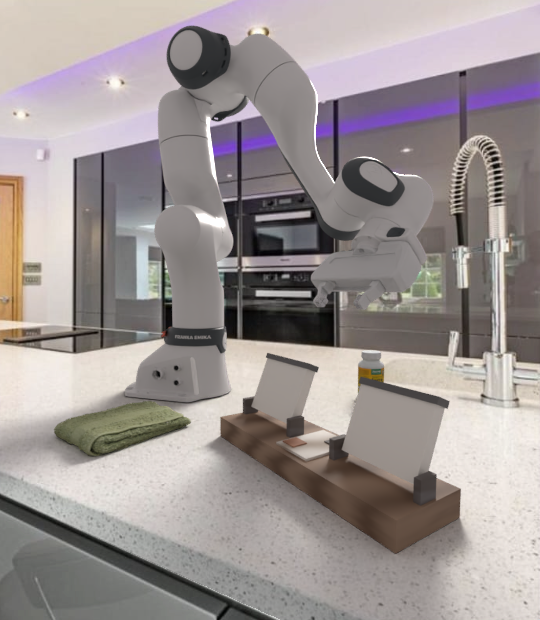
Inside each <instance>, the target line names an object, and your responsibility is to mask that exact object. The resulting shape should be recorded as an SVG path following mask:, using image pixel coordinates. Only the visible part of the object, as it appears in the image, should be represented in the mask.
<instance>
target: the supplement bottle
mask: <svg viewBox="0 0 540 620" xmlns="http://www.w3.org/2000/svg"><path fill="white" fill-rule="evenodd" d="M360 357H361V360H359V362H358V364H357V393H358V392H359V389H360V385H361V384H360V383H359V380H360V377H364V378H368V379H372V380H376V381H380V382H384V383H385V364H384V363H383V361H381V358H382V352H381V351H379V350H375V349H374V350H372V349H369V350H362V351H361V355H360Z"/></svg>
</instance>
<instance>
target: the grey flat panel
mask: <svg viewBox="0 0 540 620" xmlns="http://www.w3.org/2000/svg"><path fill="white" fill-rule="evenodd" d="M359 383H360V384H361V385H360V389H359V392H358V391H357V397H356V399H355V402H354V407H353V410H352V414H351V416H350V421H349V423H348V427H347V430H346V432H345V433H346V434H345V435H346V436H345V440H344V443H343V447H342V450H343V451H345V452H347V453H349V454H351V455H353V456H355V457H357V458H360V459H362V460H364V461H366V462H368V463H370V464H372V465H374V466H376V467H378V468H380V469H382V470H385V471H387V472H389V473H391V474H393V475H395V476H397V477H399V478H401V479H403V480H405V481H408V482H410V483H412V484H414V477H416V476H418V475H421V474H423V473H425V472H428V471H430V467H431V463H432V460H433V457H434V452H435V448H436V443H437V440H438V437H439V434H440V433H439V431H440V430H441V424H442V420H443V417H444V413H445V410H447V409H448V408H449V405H450V400H449V399H446V398H444V397H441V396H438V395H434V394H431V393H426V392H423V391H418V390H415V389H412V388H411V389H410V388H407V387H403V386H398V385H394V384H391V383H388V382H387V383H386V382H385V381H384V382H380V381H376V380H372V379H368V378H364V377H360V380H359Z"/></svg>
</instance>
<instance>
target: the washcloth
mask: <svg viewBox="0 0 540 620" xmlns="http://www.w3.org/2000/svg"><path fill="white" fill-rule="evenodd" d="M191 423H192V421H191V419H190V418H189V417H187V416H185V415H184V414H183V413H180V412H178V411H175V410H173V409H172V408H171V407H170V406H168V405H159V404H158V403H157V402H156V401H152V400H147V401H146V400H143V401H139V402H131V403H126V404H122V405H119V406H117V407H111V408H107V409H106V410H101V411H97V412H91V413H84V414H82V415H78V416H72V417H70V418H67V419H65V420H63V421H61V422H59V423H57V425H56V426H55V427H53V428H54V429H53V431H54V432H53V433H54V435H55V436H56V437H57V438H60V439H61V440H64V441H65V442H67V443H68V444H69V445H72V444H73V445H74V446H76V447H78V450H80V451H83V453H85V454H87V456H90V457H99V456H103V455H105V454H108V453H111V452H115V451H119V450H122V449H123V450H124V449H125V448H129V447H130V446H132V445H136V444H139V443H142V442H145V441H147V440H149V439H153V438H155V437H158V436H160V435H163V434H166V433H167V434H168V433H169V432H172V431H175V430H180V429H183V428H184V426H185V427H186V426H188V425H190V424H191Z"/></svg>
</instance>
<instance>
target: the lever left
mask: <svg viewBox="0 0 540 620" xmlns="http://www.w3.org/2000/svg"><path fill="white" fill-rule="evenodd" d="M265 358H266V361H265V364H264V367H263V369H262V373H261V377H260V380H259V383H258V384H257V389H256V390H255V391H256V392H255V394H254V396H255V397H254V400H253V403H252V406H251V407H253V408H255V409H257V410H259V411H261V412H264V413H266V414H268V415H270V416H272V417H274V418H276V419H278V420H280V421H282V422H284V423H286V424H287V418H291V417H296V416H300V415H301V416H303V413H304V410H305V406H306V404H307V400H308V397H309V393H310V390H311V388H312V385H313V381H314V378H315V376H316V375H315V374H316V373H318V372H319V366H317V365H314V364H311V363H309V362H305V361H301V360H297V359H294V358H289V357H285V356H282V355H278V354H273V353H271V352H267V353H266V355H265Z"/></svg>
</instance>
